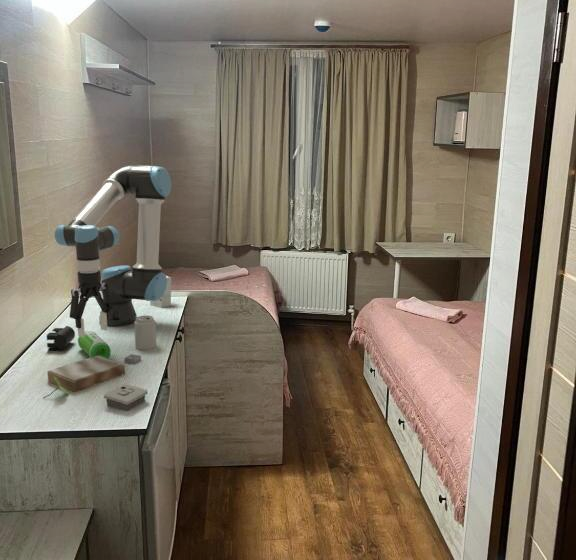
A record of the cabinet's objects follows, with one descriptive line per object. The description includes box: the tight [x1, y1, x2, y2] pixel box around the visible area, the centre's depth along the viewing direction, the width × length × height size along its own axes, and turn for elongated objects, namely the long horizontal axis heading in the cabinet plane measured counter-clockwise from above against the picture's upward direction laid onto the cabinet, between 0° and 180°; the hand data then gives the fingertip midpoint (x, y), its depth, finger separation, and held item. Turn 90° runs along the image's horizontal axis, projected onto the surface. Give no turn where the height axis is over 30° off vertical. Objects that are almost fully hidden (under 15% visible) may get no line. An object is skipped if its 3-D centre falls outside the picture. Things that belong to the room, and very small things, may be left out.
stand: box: [47, 355, 126, 394], centre depth 200 cm, size 19×14×4 cm
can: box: [133, 315, 157, 351], centre depth 228 cm, size 8×8×12 cm
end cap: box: [46, 325, 76, 352], centre depth 229 cm, size 10×7×7 cm
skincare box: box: [149, 275, 172, 309], centre depth 282 cm, size 8×6×15 cm
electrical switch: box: [103, 383, 149, 412], centre depth 181 cm, size 9×5×9 cm
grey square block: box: [124, 353, 142, 365], centre depth 215 cm, size 4×4×2 cm
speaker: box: [77, 330, 112, 359], centre depth 221 cm, size 18×7×8 cm, turn 34°
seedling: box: [42, 377, 70, 399], centre depth 186 cm, size 7×8×7 cm
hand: (93, 332), depth 220 cm, fingers open, 9 cm apart
